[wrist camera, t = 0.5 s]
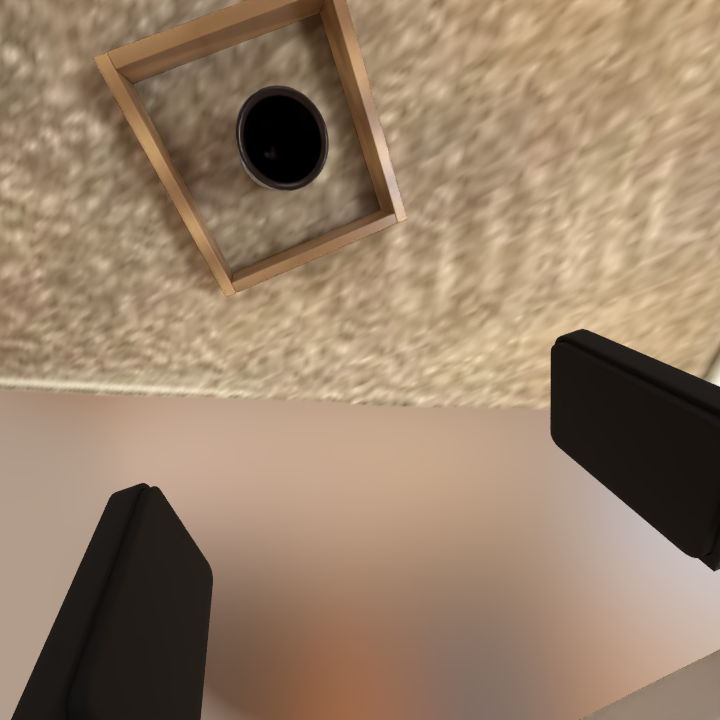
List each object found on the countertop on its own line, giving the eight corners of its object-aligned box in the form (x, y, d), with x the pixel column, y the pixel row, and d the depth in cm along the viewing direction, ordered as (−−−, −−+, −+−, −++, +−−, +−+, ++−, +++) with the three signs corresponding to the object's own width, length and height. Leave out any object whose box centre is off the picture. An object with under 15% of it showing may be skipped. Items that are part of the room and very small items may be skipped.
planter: (247, 192, 28) (247, 196, 19) (232, 121, 26) (224, 88, 17) (308, 185, 29) (334, 185, 20) (297, 115, 27) (321, 81, 18)
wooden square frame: (112, 73, 24) (92, 57, 21) (326, -7, 25) (337, -34, 22) (228, 286, 31) (226, 297, 28) (392, 216, 32) (407, 219, 29)
